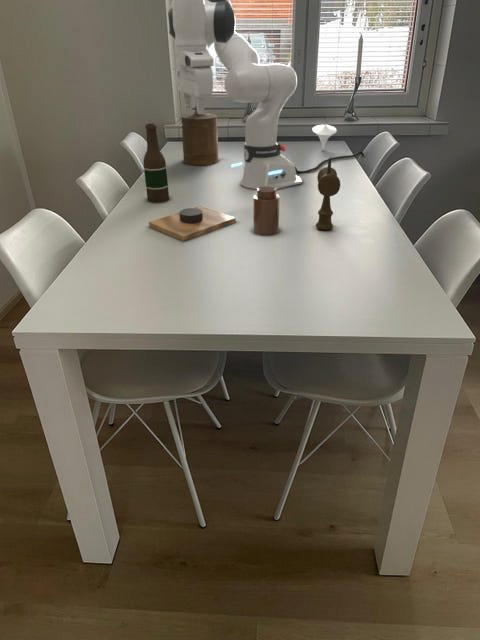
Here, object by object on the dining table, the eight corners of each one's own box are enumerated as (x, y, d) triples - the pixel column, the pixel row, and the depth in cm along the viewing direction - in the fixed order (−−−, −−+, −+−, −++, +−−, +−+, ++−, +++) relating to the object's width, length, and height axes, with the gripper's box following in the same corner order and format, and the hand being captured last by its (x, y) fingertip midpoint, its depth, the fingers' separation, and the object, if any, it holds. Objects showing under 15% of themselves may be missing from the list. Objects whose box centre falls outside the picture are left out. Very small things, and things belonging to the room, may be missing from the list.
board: (200, 210, 156) (200, 205, 155) (235, 222, 146) (235, 217, 145) (149, 226, 144) (148, 222, 143) (184, 241, 134) (183, 236, 133)
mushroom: (336, 153, 218) (339, 125, 212) (312, 153, 218) (314, 125, 212) (333, 148, 227) (335, 120, 221) (309, 148, 227) (311, 121, 221)
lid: (206, 221, 143) (205, 213, 142) (184, 225, 141) (183, 217, 139) (198, 214, 148) (197, 206, 147) (177, 217, 146) (176, 210, 144)
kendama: (314, 234, 137) (319, 161, 127) (313, 222, 146) (317, 152, 135) (335, 234, 137) (342, 161, 126) (333, 222, 145) (339, 153, 135)
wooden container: (225, 159, 212) (223, 104, 200) (205, 167, 201) (202, 109, 189) (197, 155, 218) (194, 102, 207) (176, 162, 208) (172, 106, 196)
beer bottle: (165, 203, 162) (158, 126, 149) (143, 202, 163) (134, 126, 151) (172, 196, 168) (166, 122, 156) (151, 195, 170) (143, 121, 157)
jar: (270, 224, 144) (271, 184, 138) (283, 232, 139) (284, 190, 132) (249, 228, 142) (248, 187, 135) (260, 237, 136) (261, 194, 130)
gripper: (168, 56, 141) (172, 107, 148) (193, 60, 125) (196, 117, 132) (189, 55, 143) (192, 106, 151) (216, 59, 127) (218, 115, 135)
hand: (194, 111), depth 141 cm, fingers open, 8 cm apart
